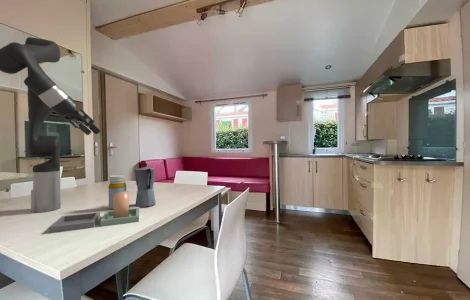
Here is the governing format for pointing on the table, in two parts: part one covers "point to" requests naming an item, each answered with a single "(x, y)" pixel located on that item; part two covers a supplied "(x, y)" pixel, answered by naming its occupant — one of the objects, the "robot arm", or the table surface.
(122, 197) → the orange cylinder
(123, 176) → the bottle
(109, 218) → the tray
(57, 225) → the tray
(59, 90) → the robot arm
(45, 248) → the table surface
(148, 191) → the moka pot
